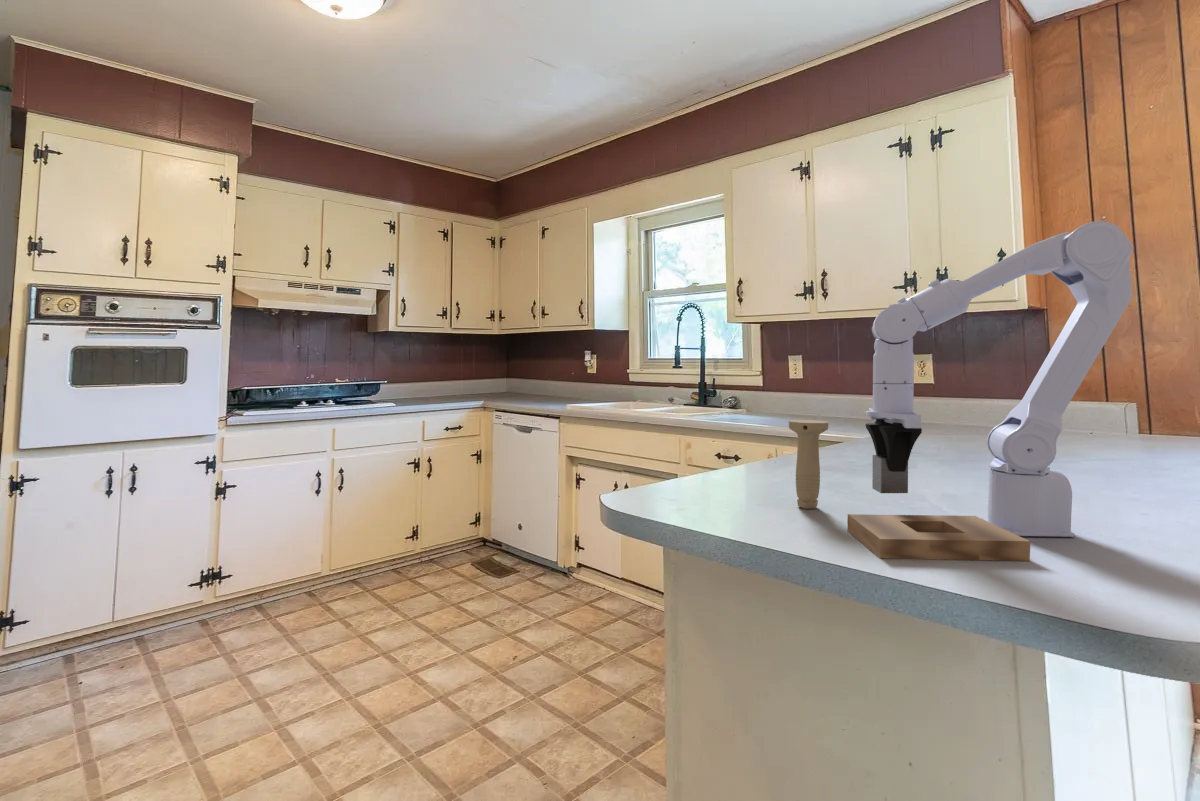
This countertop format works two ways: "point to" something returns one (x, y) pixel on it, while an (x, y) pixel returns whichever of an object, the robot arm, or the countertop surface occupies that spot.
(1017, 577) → the countertop surface
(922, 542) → the well board
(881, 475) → the grey stone block
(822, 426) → the handle
